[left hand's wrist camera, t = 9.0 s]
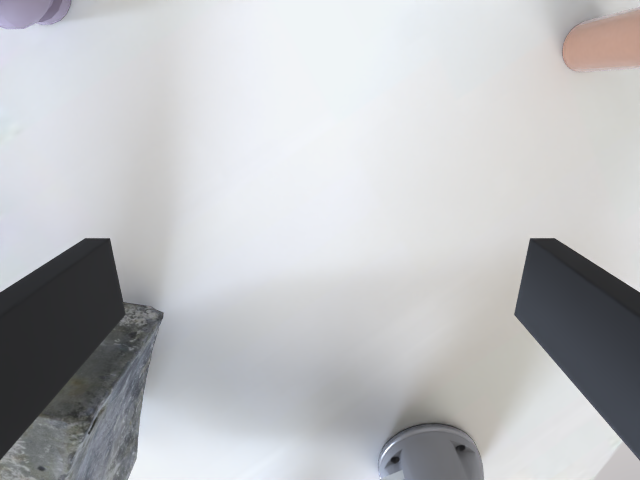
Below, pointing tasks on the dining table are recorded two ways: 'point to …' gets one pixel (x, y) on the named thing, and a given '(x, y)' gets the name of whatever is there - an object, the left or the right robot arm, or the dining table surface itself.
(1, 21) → the cat figurine
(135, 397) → the concrete block
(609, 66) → the bottle
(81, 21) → the dining table surface
